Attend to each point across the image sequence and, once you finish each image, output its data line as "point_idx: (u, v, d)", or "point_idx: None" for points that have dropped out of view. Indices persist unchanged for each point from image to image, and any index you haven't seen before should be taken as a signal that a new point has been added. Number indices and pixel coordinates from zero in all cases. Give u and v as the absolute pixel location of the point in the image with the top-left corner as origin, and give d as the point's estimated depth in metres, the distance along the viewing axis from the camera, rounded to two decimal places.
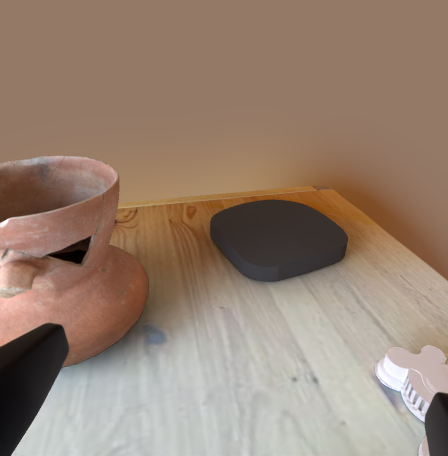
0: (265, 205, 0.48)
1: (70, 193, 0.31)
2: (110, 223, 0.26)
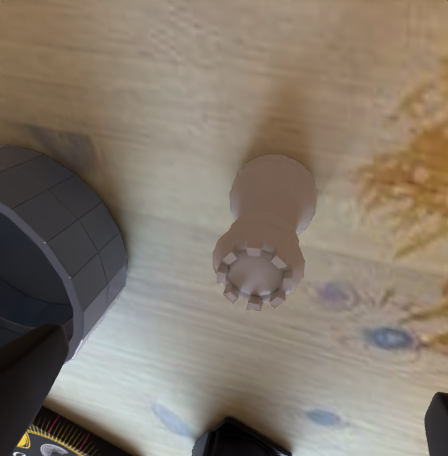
0: None
1: None
2: None
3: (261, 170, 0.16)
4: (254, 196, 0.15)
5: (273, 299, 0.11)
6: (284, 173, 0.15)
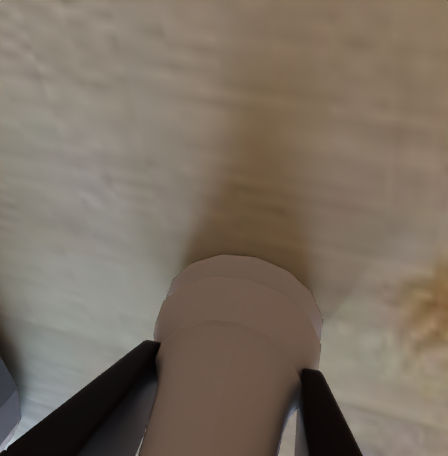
0: None
1: None
2: None
3: (206, 300, 0.08)
4: (181, 382, 0.06)
5: None
6: (253, 313, 0.07)
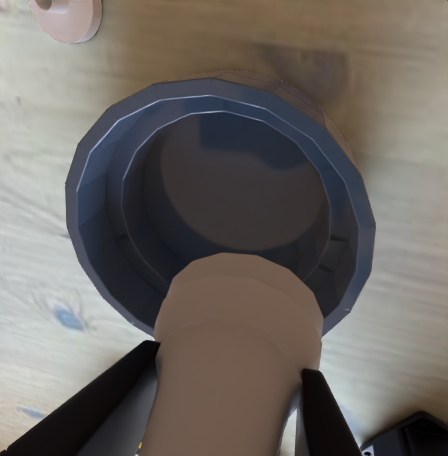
0: None
1: None
2: None
3: (207, 298, 0.08)
4: (181, 380, 0.06)
5: None
6: (254, 311, 0.07)
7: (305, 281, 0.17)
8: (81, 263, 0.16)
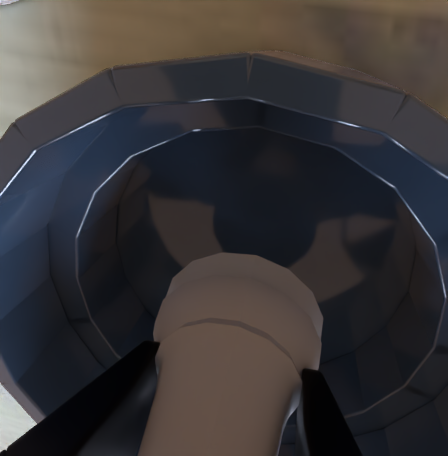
0: None
1: None
2: None
3: (206, 298, 0.08)
4: (181, 380, 0.06)
5: None
6: (254, 311, 0.07)
7: (380, 406, 0.10)
8: (2, 382, 0.10)
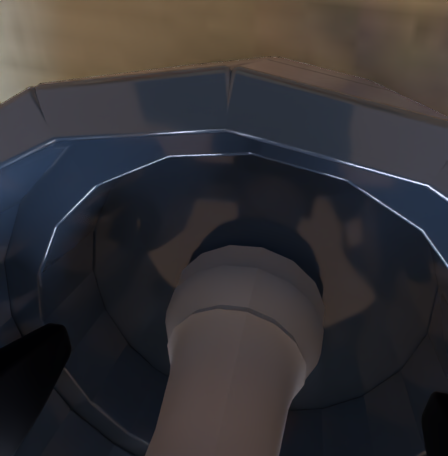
0: None
1: None
2: None
3: (217, 286, 0.08)
4: (194, 360, 0.07)
5: None
6: (261, 298, 0.08)
7: None
8: None
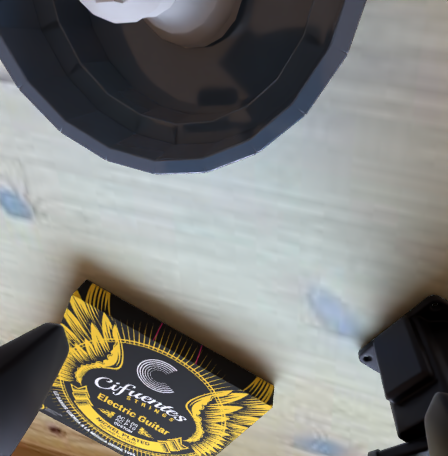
0: None
1: None
2: None
3: None
4: None
5: None
6: None
7: (288, 67, 0.13)
8: None
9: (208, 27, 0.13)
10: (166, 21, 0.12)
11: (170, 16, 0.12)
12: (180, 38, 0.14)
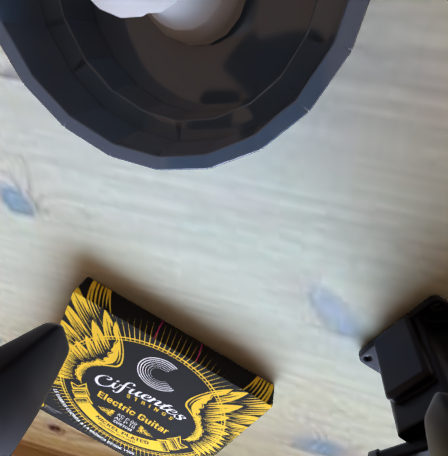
0: None
1: None
2: None
3: None
4: None
5: None
6: None
7: (291, 65, 0.13)
8: None
9: (212, 24, 0.13)
10: (170, 18, 0.12)
11: (175, 12, 0.12)
12: (184, 35, 0.14)
